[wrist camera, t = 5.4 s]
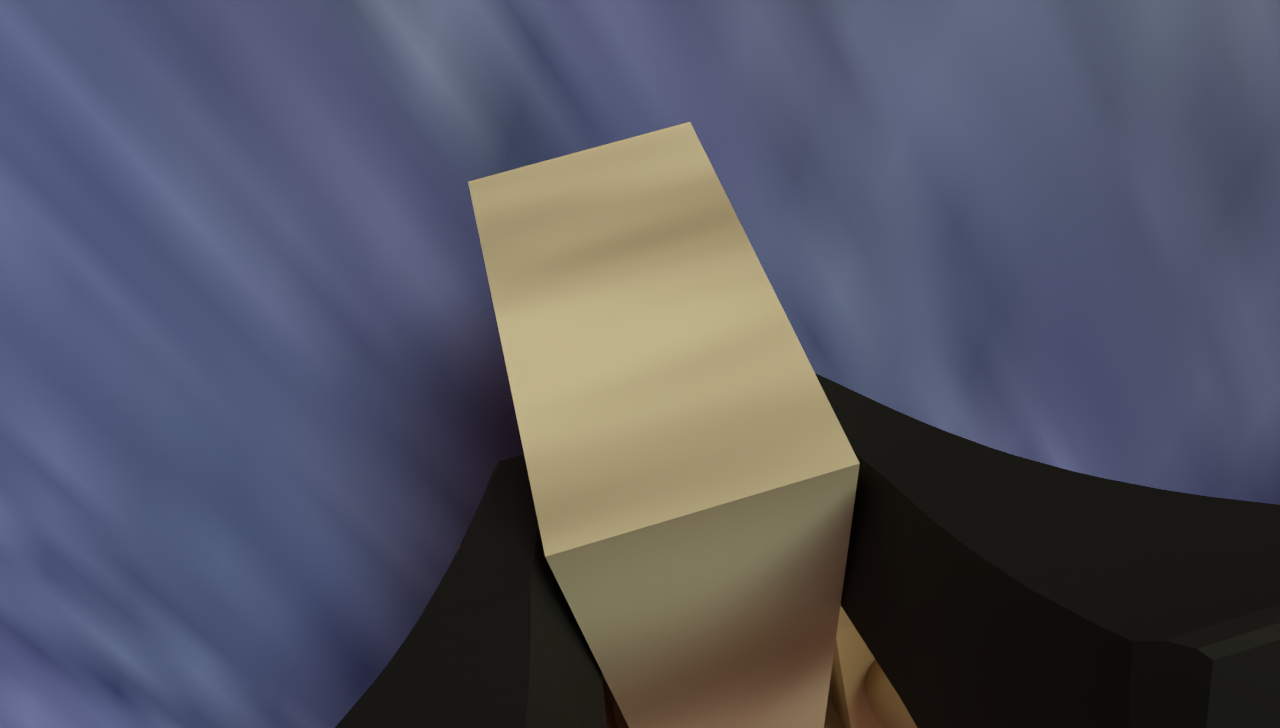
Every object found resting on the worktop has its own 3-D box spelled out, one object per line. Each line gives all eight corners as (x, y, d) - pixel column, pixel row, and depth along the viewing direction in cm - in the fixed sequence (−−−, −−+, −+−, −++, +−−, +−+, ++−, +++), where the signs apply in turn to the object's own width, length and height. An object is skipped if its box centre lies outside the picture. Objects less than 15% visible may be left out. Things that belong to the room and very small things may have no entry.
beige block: (727, 494, 19) (821, 747, 16) (597, 533, 19) (663, 797, 16) (690, 121, 11) (860, 463, 8) (468, 181, 11) (544, 556, 8)
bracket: (512, 680, 21) (528, 973, 15) (458, 545, 19) (450, 818, 13) (864, 573, 21) (1019, 814, 15) (844, 432, 20) (1011, 642, 14)
